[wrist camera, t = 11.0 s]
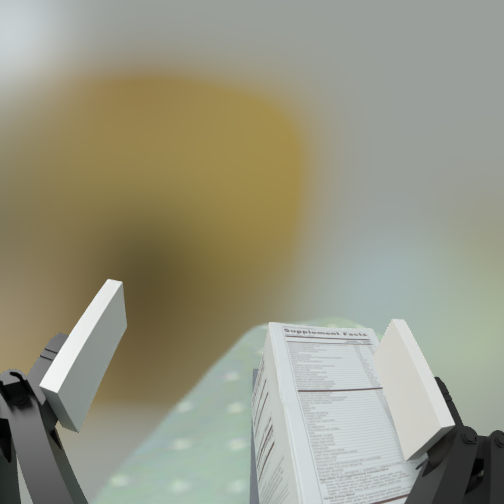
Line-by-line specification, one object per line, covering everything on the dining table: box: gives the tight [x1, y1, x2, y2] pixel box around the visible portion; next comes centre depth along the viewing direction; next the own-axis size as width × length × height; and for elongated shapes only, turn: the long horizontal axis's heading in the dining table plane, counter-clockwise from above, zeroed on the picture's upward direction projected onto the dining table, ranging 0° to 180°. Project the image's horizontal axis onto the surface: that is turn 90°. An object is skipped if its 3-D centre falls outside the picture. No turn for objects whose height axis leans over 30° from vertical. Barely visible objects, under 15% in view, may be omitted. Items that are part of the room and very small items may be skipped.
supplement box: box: [251, 322, 428, 504], centre depth 17 cm, size 10×9×17 cm
